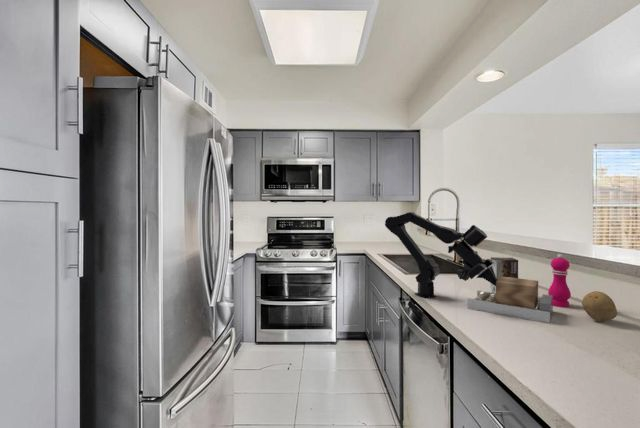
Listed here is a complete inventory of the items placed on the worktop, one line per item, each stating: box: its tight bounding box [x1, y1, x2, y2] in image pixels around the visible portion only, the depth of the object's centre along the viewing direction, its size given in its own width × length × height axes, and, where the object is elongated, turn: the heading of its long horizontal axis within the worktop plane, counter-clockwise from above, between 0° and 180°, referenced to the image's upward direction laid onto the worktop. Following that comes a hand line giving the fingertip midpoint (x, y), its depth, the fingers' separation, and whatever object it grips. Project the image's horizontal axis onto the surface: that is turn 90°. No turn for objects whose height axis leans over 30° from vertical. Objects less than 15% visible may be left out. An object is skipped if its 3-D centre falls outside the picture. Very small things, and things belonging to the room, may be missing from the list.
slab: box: [496, 277, 539, 309], centre depth 123 cm, size 12×12×8 cm
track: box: [467, 290, 554, 324], centre depth 125 cm, size 26×16×6 cm, turn 52°
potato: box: [581, 290, 618, 323], centre depth 113 cm, size 9×9×10 cm
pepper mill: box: [547, 253, 572, 308], centre depth 131 cm, size 7×7×20 cm
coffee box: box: [489, 256, 519, 293], centre depth 145 cm, size 9×6×16 cm
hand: (497, 285), depth 127 cm, fingers closed
